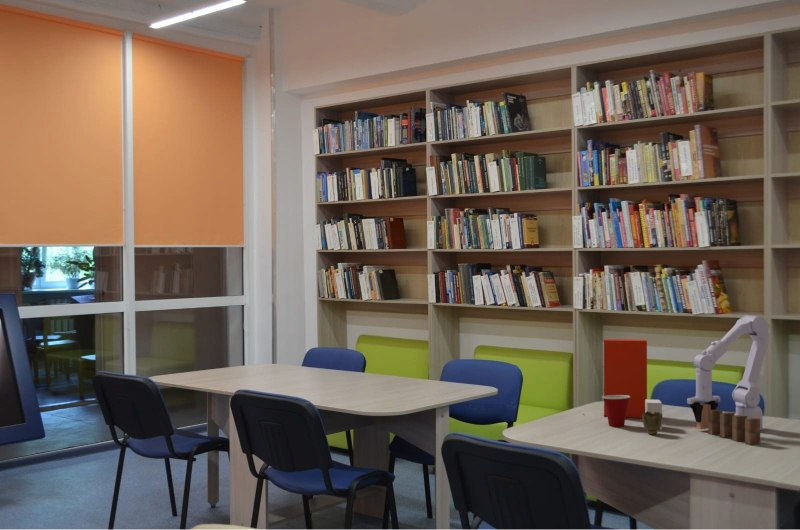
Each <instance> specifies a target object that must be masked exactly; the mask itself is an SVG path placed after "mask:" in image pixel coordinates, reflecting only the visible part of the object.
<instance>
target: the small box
mask: <svg viewBox="0 0 800 530" xmlns="http://www.w3.org/2000/svg"><path fill="white" fill-rule="evenodd" d="M647 411H648V412H651V414H652V413H653V414H654V412H657V413H658V412H659V413H660V414H661V413H662V414H663V403H662V401H661V400H660V399H651V398H649V399H648V398H647V399H645V413H646V412H647ZM658 430H659V431H662V430H663V422H662V423H661V427H660V429H658ZM658 430H657V431H658Z"/></svg>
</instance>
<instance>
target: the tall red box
mask: <svg viewBox="0 0 800 530" xmlns="http://www.w3.org/2000/svg"><path fill="white" fill-rule="evenodd" d="M608 395H628V396H630V398H629V401H628V406H627V412H626V418H629V419H630V418H632V419H633V418H634V419H636V418H637V419H643V418H642V412H643V413H644V412H645V399H648V340H647V339H632V338H631V339H627V338H626V339H624V338H623V339H621V338H603V396H608ZM603 416H604V417H606V418H608V417H607V413H606V407H605V403H604V402H603Z"/></svg>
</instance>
